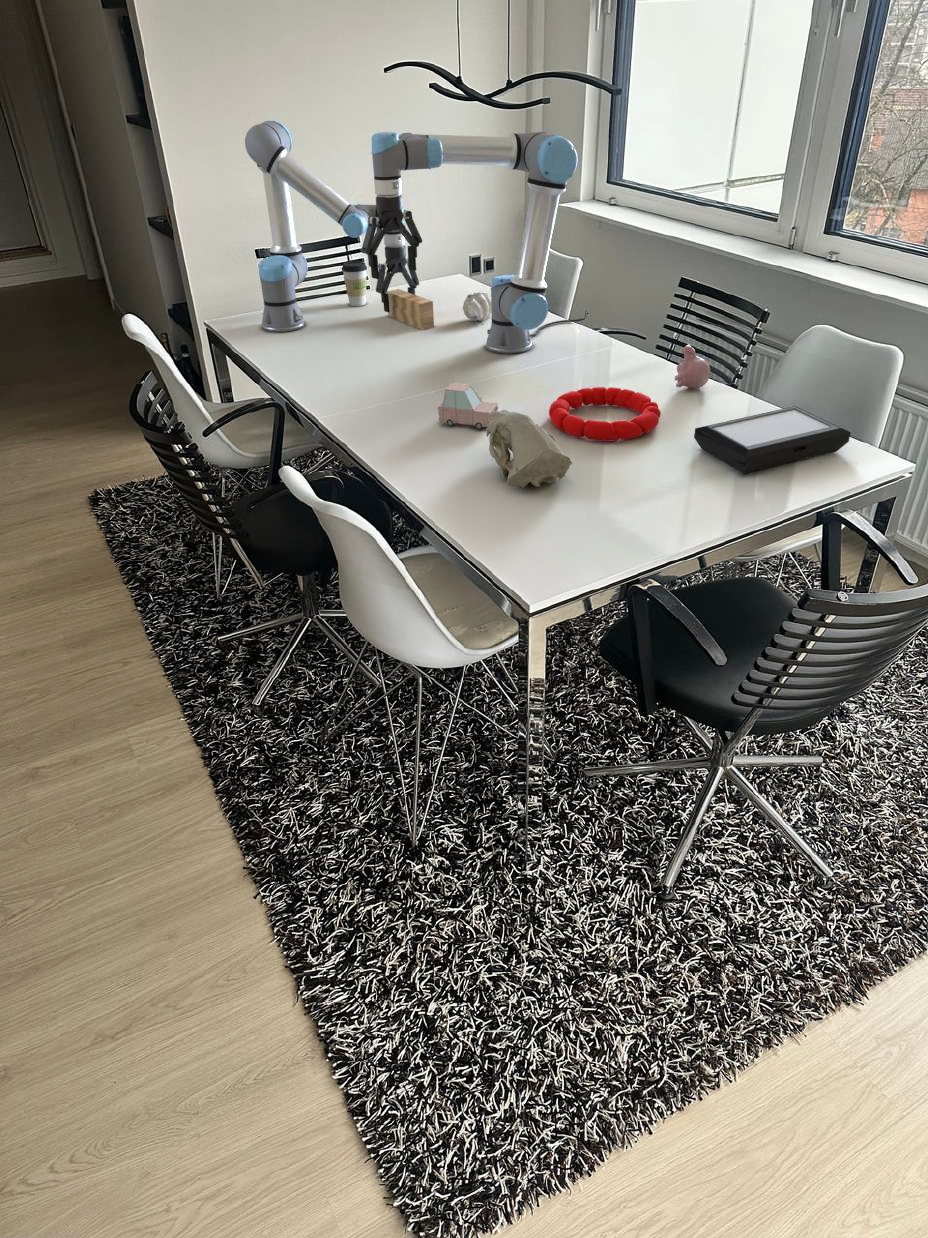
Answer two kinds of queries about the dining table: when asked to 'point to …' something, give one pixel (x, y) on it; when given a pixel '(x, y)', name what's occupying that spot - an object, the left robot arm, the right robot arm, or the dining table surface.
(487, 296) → the seashell
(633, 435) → the decorative ring
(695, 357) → the figurine
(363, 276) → the coffee cup
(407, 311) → the bar
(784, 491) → the dining table surface
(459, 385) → the toy car
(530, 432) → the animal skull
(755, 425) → the electronic device
